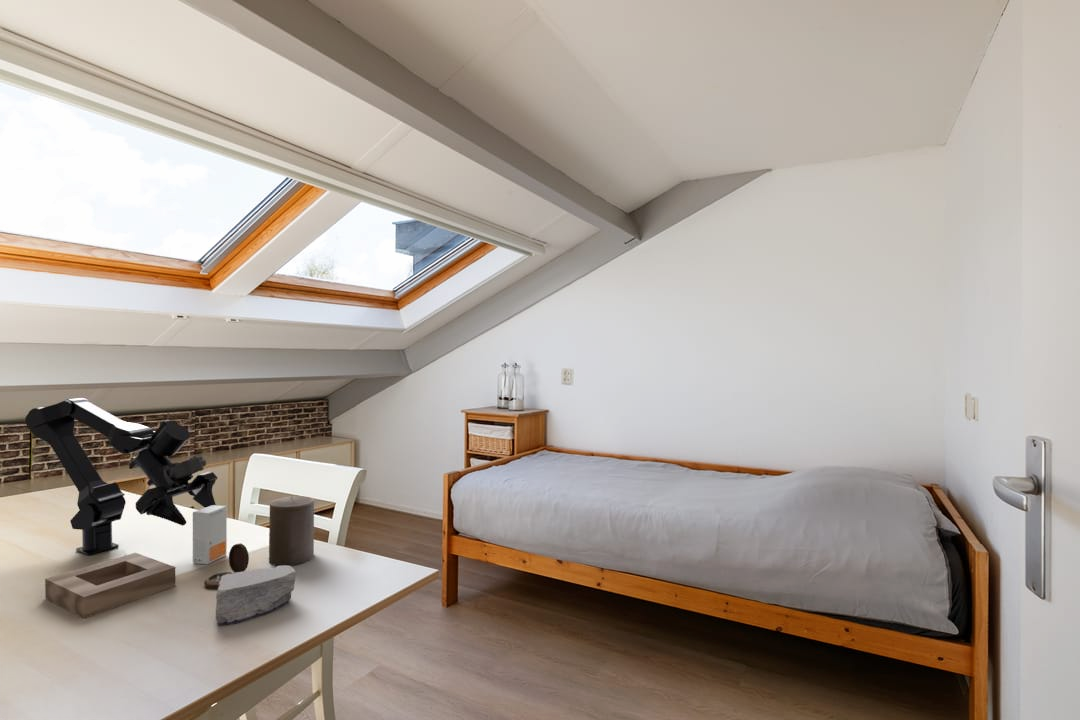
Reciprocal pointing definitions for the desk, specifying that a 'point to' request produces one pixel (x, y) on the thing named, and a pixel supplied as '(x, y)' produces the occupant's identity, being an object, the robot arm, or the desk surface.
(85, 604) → the holder block
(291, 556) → the pillar candle
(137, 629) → the desk surface
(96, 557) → the desk surface
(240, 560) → the dark brown curved piece
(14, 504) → the desk surface
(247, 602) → the decorative stone
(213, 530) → the skincare box
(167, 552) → the desk surface
